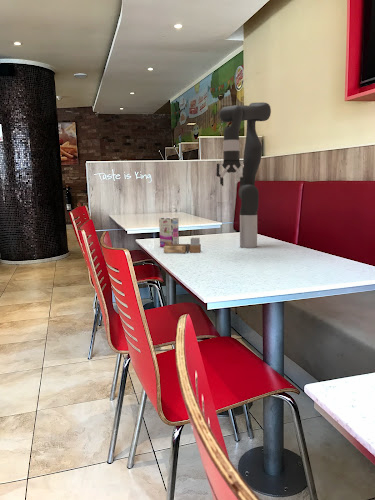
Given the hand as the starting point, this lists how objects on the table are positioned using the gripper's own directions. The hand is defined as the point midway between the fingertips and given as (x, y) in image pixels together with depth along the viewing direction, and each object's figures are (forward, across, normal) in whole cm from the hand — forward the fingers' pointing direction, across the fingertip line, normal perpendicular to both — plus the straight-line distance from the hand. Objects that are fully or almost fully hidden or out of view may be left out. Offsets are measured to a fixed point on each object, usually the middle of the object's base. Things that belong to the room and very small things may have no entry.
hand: (231, 185), depth 202 cm
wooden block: (+33, -26, +8) cm, 43 cm away
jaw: (+33, -29, +5) cm, 44 cm away
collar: (+30, -19, +9) cm, 36 cm away
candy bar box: (+33, -35, +24) cm, 54 cm away
